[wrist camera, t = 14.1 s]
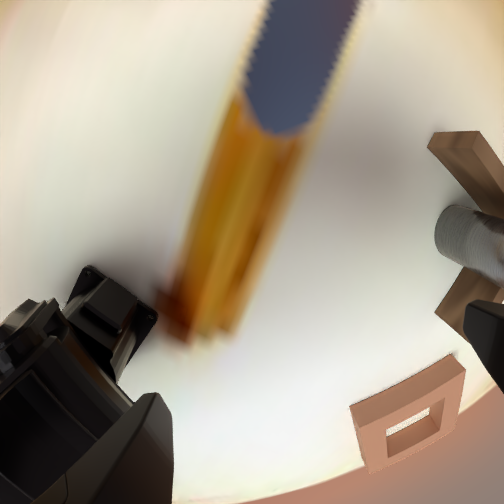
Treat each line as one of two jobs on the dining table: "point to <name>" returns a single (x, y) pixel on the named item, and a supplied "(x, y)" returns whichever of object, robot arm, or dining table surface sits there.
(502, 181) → the v block
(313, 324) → the dining table surface
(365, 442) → the sleeve block
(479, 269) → the steel axle
